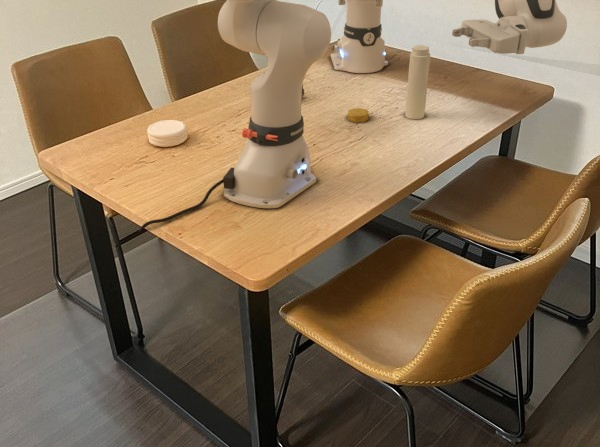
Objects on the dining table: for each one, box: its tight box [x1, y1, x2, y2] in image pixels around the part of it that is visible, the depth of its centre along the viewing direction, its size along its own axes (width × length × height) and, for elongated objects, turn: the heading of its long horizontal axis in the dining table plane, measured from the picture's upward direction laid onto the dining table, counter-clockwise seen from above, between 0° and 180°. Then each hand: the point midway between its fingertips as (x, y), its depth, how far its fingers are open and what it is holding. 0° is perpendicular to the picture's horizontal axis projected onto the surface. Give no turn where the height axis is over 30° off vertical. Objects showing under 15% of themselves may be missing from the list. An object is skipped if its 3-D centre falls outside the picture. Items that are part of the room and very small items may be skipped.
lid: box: [347, 107, 370, 123], centre depth 171 cm, size 6×6×2 cm
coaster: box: [146, 119, 188, 148], centre depth 160 cm, size 10×10×4 cm
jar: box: [404, 44, 431, 120], centre depth 168 cm, size 5×5×19 cm
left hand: (360, 5), depth 155 cm, fingers open, 8 cm apart
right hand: (461, 37), depth 164 cm, fingers open, 8 cm apart
